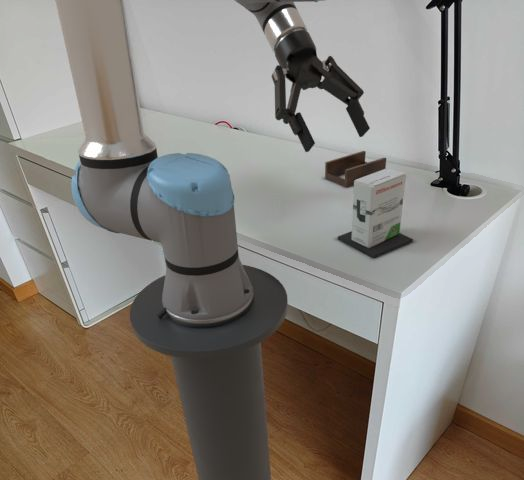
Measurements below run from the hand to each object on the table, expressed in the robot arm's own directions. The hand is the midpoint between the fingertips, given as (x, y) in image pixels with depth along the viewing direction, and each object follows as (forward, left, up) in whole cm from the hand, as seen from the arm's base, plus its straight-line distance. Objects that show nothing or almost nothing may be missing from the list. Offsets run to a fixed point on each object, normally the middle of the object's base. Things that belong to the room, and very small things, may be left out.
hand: (338, 140), depth 96 cm
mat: (-2, -14, -15) cm, 21 cm away
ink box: (-2, -14, -15) cm, 20 cm away
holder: (+18, +14, -15) cm, 28 cm away
